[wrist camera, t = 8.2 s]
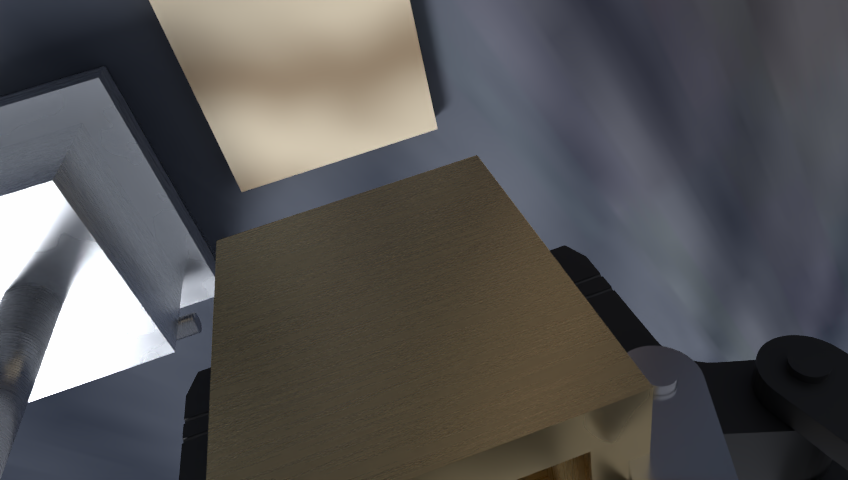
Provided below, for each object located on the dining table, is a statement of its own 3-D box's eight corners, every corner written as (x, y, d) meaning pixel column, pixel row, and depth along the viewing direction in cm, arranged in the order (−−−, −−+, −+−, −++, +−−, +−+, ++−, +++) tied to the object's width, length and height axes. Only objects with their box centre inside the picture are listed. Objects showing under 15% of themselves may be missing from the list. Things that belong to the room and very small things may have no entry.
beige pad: (139, -30, 23) (136, -26, 22) (383, -100, 24) (388, -98, 23) (241, 182, 29) (241, 192, 28) (432, 121, 30) (437, 128, 29)
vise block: (-142, 139, 23) (-502, 433, 12) (105, 65, 24) (-10, 275, 13) (40, 337, 31) (-76, 639, 19) (224, 275, 32) (219, 529, 20)
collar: (216, 241, 11) (203, 557, 6) (476, 155, 11) (653, 387, 7) (307, 406, 14) (345, 700, 9) (508, 334, 14) (643, 580, 10)
